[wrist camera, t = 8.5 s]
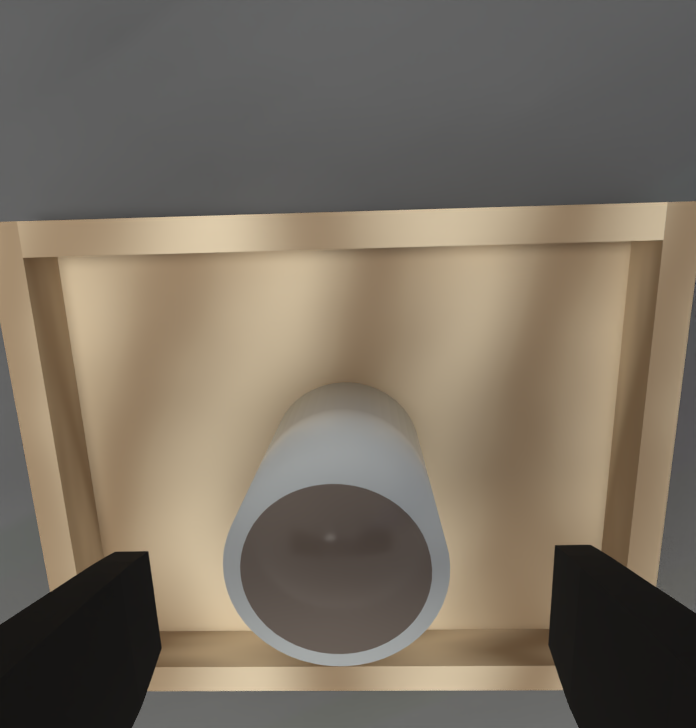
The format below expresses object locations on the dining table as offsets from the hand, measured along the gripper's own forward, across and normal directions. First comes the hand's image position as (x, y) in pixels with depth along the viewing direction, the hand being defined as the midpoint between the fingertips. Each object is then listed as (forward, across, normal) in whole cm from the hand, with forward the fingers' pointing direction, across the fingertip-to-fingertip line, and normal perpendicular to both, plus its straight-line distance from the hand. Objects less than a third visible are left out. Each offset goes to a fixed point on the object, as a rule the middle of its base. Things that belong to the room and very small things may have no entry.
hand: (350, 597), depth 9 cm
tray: (+9, 0, +1) cm, 9 cm away
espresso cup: (+8, 0, +1) cm, 9 cm away
